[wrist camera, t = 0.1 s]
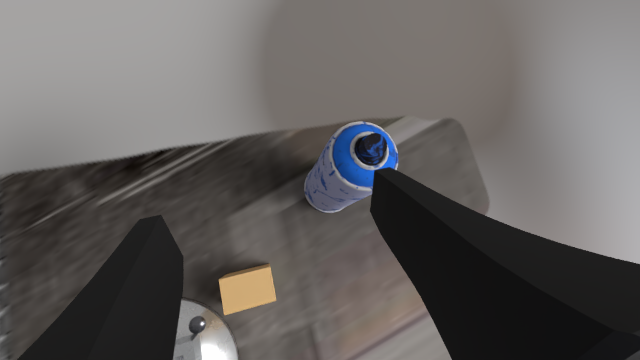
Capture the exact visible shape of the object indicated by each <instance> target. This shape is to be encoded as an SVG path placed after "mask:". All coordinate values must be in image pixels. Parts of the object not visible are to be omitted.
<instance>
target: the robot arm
mask: <svg viewBox="0 0 640 360" xmlns="http://www.w3.org/2000/svg"><path fill="white" fill-rule="evenodd" d="M370 212H371V214H372V216H373V219H374V221H375V223H376V225H377V227H378V229H379V231H380V233H381V235H382V237H383V238H384V240H385V241H386V243H387V245H388V246H389V248H390V249H391V251H392V252H393V254H394V255H395V257H396V258H397V260H398V262H399V263H400V265H401V266H402V268H403V269H404V271H405V272H406V274H407V275H408V277H409V278H410V280H411V281H412V283H413V285H414V286H415V288H416V290H417V291H418V293H419V295H420V296H421V298H422V300H423V302H424V304H425V306H426V308H427V310H428V312H429V314H430V316H431V317H432V319H433V321H434V323H435V325H436V327H437V329H438V331H439V333H440V336H441V338H442V340H443V342H444V344H445V346H446V348H447V350H448V352H449V354H450V356H451V359H452V360H640V264H636V263H633V262H628V261H624V260H619V259H615V258H611V257H607V256H603V255H600V254H596V253H593V252H589V251H586V250H582V249H578V248H575V247H571V246H568V245H565V244H561V243H558V242H555V241H551V240H549V239H546V238H543V237H540V236H537V235H534V234H531V233H528V232H525V231H522V230H520V229H517V228H514V227H511V226H509V225H507V224H504V223H502V222H499V221H497V220H494V219H492V218H489V217H487V216H485V215H482V214H480V213H478V212H476V211H474V210H471V209H469V208H467V207H465V206H463V205H461V204H459V203H457V202H455V201H453V200H451V199H449V198H447V197H445V196H443V195H441V194H439V193H437V192H435V191H434V190H432V189H430V188H428V187H426V186H424V185H423V184H421V183H419V182H417V181H415V180H413V179H412V178H410V177H408V176H406V175H404V174H403V173H401V172H399V171H397V170H395V169H393V168H391V167H387V168H382V169H378V170H374V179H373V188H372V198H371V208H370ZM182 292H183V255H182V253H181V251H180V249H179V248H178V246H177V244H176V242H175V240H174V238H173V236H172V234H171V233H170V231H169V229H168V227H167V225H166V223H165V221H164V219H163V217H162V216H161V215H158V216H153V217H149V218H144V219H140V220H139V221H138V222H137V223H136V224H135V226H134V227H133V228H132V229H131V231H130V232H129V233H128V234H127V236H126V237H125V238H124V239H123V241H122V242H121V243H120V244H119V246H118V247H117V248H116V250H115V251H114V252H113V253H112V255H111V256H110V257H109V258H108V260H107V261H106V262H105V263H104V264H103V266H102V267H101V268H100V269H99V271H98V272H97V273H96V274H95V276H94V277H93V278H92V279H91V280H90V282H89V283H88V284H87V285H86V286H85V287H84V288H83V290H82V291H81V292H80V293H79V294H78V295H77V296H76V297H75V299H74V300H73V301H72V302H71V303H70V304H69V305H68V307H67V308H66V309H65V310H64V311H63V312H62V313H61V315H60V316H59V317H58V318H57V319H56V320H55V321H54V322H53V323H52V324H51V325H50V327H49V328H48V329H47V330H46V331H45V332H44V333H43V334H42V335H41V336H40V337H39V338H38V339H37V340H36V341H35V342H34V343H33V344H32V345H31V346H30V347H29V348H28V349H27V350H26V351H25V352H24V353H23V354H22V355H21V356H20V357H19V358H18V359H17V360H173V356H174V349H175V342H176V335H177V328H178V321H179V314H180V307H181V299H182Z"/></svg>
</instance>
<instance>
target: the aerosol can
mask: <svg viewBox="0 0 640 360" xmlns="http://www.w3.org/2000/svg"><path fill="white" fill-rule="evenodd" d="M397 166H398V152H397V148H396V145H395V143H394V141H393V140H392V138H391V137H390V135H389V134H388V133H387V132H386V131H384V130H383V129H382V128H381V127H379V126H377V125H375V124H372V123H368V122H361V121H360V122H354V123H349V124H347V125H345V126H343V127H341V128H340V129H338V130H337V131H336V132H335V133H334V134H333V136H332V137H331V138H330V140H329V141H328V143H327V145H326V146H325V148H324V150H323V152H322V153H321V155H320V157H319V158H318V160H317V162H316V163H315V165H314V167H313V169H312V170H311V171H310V172H309V173H308V175H307V177H306V179H305V182H304V192H305V196H306V198H307V200H308V202H309V203H310V205H312V206H313V207H314V208H315V209H317V210H319V211H321V212H325V213H333V212H337V211H340V210H342V209H343V208H345V207H346V206H348V205H350V204H352V203H354V202H356V201H358V200H360V199H363V198H365V197H367V196H369V195H371V194H372V188H373V179H374V170H378V169H382V168H387V167H391V168H393V169H395V170H397Z"/></svg>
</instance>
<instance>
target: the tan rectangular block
mask: <svg viewBox="0 0 640 360" xmlns="http://www.w3.org/2000/svg"><path fill="white" fill-rule="evenodd" d="M219 285H220V291H221V298H222V304H223V311H224V315H227V314H231V313H234V312H238V311H242V310H245V309H249V308H252V307H256V306H259V305H263V304H267V303H270V302H274V301H276V296H275V289H274V284H273V279H272V273H271V268H270V263H269V264H265V265H261V266H257V267H253V268H249V269H245V270H241V271H237V272H233V273H229V274H226V275H224V276H223V277H222V278H220V279H219Z"/></svg>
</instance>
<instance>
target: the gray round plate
mask: <svg viewBox="0 0 640 360" xmlns="http://www.w3.org/2000/svg"><path fill="white" fill-rule="evenodd" d="M173 360H239V352H238V348H237V343H236V340H235V338H234V335H233V333H232V331H231V329H230V327H229V325H228V324H227V323H226V321H225V320H224V319H223V318H222V317H221V316H220V315H219V314H218V313H217V312H216V311H215V310H213V309H212V308H211V307H209V306H207V305H205V304H203V303H201V302H198V301H195V300H192V299H187V298H182V299H181V307H180V314H179V321H178V328H177V335H176V342H175V349H174V356H173Z"/></svg>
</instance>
